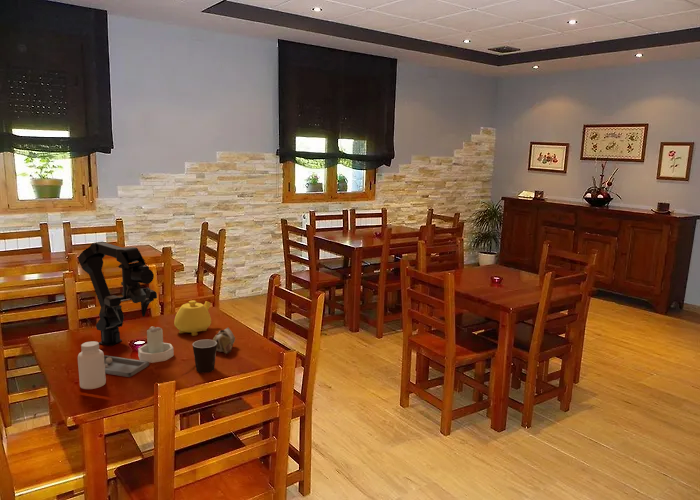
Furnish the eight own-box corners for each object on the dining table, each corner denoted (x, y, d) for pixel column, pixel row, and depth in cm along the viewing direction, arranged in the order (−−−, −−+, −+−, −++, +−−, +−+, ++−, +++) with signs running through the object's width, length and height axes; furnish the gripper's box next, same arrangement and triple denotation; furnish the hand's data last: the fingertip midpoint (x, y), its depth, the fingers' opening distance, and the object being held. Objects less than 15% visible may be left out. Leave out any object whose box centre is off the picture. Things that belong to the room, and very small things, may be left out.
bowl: (132, 361, 202) (132, 351, 201) (152, 350, 213) (151, 340, 213) (160, 365, 199) (160, 355, 198) (178, 354, 210) (178, 344, 210)
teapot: (196, 320, 251) (195, 292, 249) (224, 325, 246) (223, 296, 243) (166, 333, 233) (165, 303, 231) (196, 339, 227) (195, 308, 225)
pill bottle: (85, 381, 184) (82, 339, 182) (109, 381, 185) (107, 339, 182) (75, 391, 177) (72, 348, 174) (100, 391, 177) (98, 348, 175)
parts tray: (83, 371, 192) (83, 363, 191) (105, 360, 202) (104, 352, 202) (129, 379, 187) (129, 370, 186) (149, 367, 197) (148, 359, 197)
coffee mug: (210, 375, 192) (210, 349, 190) (188, 372, 194) (188, 346, 192) (224, 363, 203) (224, 338, 202) (203, 360, 205) (203, 335, 203)
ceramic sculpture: (240, 324, 221) (227, 339, 207) (241, 344, 223) (228, 359, 209) (215, 323, 222) (201, 337, 208) (216, 342, 224) (202, 358, 210)
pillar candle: (145, 358, 203) (144, 329, 201) (151, 352, 209) (150, 324, 207) (160, 359, 203) (158, 329, 201) (165, 353, 209) (164, 325, 207)
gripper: (115, 288, 196) (117, 329, 199) (163, 280, 209) (164, 318, 212) (102, 282, 203) (104, 321, 206) (149, 275, 217) (151, 312, 220)
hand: (132, 318), depth 211 cm, fingers open, 9 cm apart
